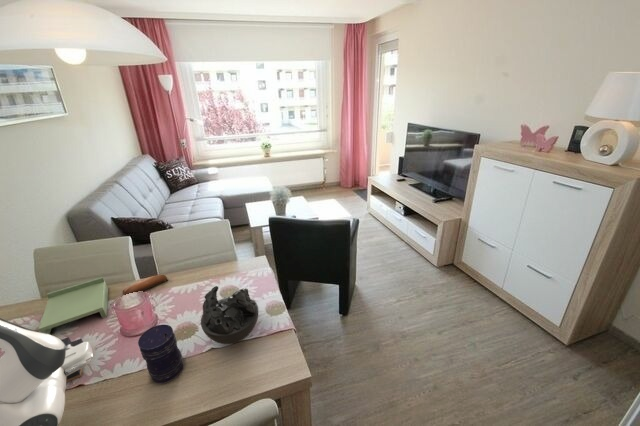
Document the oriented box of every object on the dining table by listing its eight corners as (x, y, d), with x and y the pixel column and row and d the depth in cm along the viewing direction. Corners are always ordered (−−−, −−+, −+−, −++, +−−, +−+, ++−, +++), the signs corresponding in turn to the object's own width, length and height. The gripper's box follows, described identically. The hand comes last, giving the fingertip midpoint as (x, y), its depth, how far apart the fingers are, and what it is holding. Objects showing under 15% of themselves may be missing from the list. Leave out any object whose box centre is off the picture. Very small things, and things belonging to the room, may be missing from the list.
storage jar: (146, 386, 91) (131, 351, 85) (157, 359, 100) (144, 326, 94) (179, 380, 92) (167, 346, 86) (187, 354, 101) (177, 322, 95)
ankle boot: (60, 385, 93) (44, 358, 88) (66, 352, 104) (52, 326, 100) (81, 376, 95) (66, 349, 90) (85, 345, 107) (72, 320, 102)
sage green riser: (43, 339, 111) (35, 325, 108) (53, 306, 128) (47, 293, 125) (106, 316, 120) (100, 303, 117) (108, 288, 137) (103, 276, 134)
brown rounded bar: (161, 273, 146) (161, 266, 141) (168, 284, 143) (167, 277, 139) (120, 291, 134) (118, 284, 130) (127, 303, 132) (125, 296, 127)
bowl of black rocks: (268, 343, 104) (261, 301, 97) (209, 366, 96) (198, 323, 89) (254, 308, 121) (247, 271, 113) (203, 326, 113) (192, 286, 105)
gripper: (88, 350, 77) (87, 327, 87) (-23, 405, 65) (-8, 371, 76) (98, 369, 79) (95, 344, 89) (-8, 425, 67) (4, 389, 78)
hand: (47, 357), depth 82 cm, fingers open, 8 cm apart
